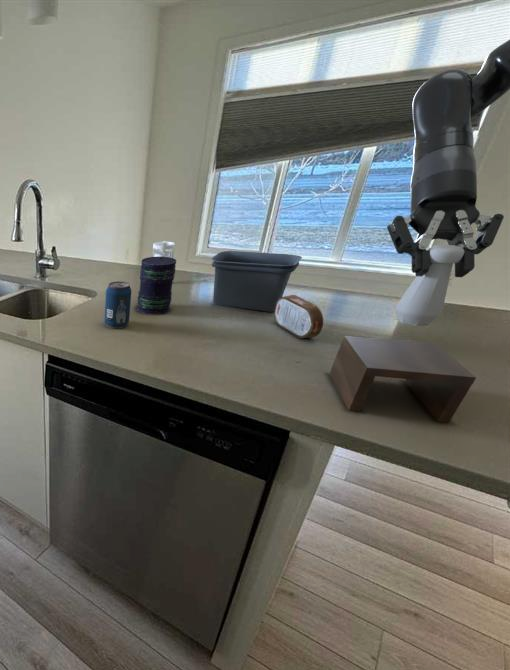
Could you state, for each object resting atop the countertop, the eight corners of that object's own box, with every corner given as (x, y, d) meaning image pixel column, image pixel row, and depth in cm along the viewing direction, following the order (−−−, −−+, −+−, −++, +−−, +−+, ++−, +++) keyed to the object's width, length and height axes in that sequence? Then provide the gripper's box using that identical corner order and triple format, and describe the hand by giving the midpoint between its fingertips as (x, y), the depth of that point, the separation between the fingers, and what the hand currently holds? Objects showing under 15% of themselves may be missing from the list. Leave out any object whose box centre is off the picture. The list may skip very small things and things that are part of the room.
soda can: (114, 318, 122) (117, 279, 116) (133, 324, 117) (137, 283, 111) (99, 325, 118) (100, 285, 112) (118, 331, 113) (121, 289, 107)
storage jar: (166, 316, 120) (172, 265, 112) (132, 312, 125) (137, 263, 117) (173, 305, 127) (179, 257, 119) (141, 302, 132) (145, 255, 124)
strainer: (149, 285, 146) (153, 242, 138) (149, 279, 152) (153, 238, 144) (170, 285, 144) (175, 242, 136) (169, 279, 149) (174, 237, 142)
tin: (318, 342, 98) (329, 309, 93) (305, 343, 98) (316, 311, 94) (280, 320, 111) (288, 290, 106) (268, 321, 111) (276, 291, 107)
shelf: (414, 382, 80) (435, 341, 75) (449, 422, 69) (476, 377, 65) (329, 374, 85) (343, 335, 81) (348, 410, 74) (367, 367, 70)
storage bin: (200, 305, 125) (208, 259, 117) (215, 291, 134) (224, 247, 127) (280, 317, 112) (295, 266, 105) (291, 301, 122) (305, 253, 115)
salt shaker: (429, 331, 68) (469, 252, 61) (386, 322, 72) (418, 247, 65) (439, 321, 70) (477, 244, 64) (396, 313, 74) (428, 240, 68)
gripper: (400, 170, 67) (398, 261, 64) (519, 163, 62) (524, 263, 59) (377, 200, 74) (374, 284, 71) (482, 196, 69) (484, 287, 66)
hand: (442, 274), depth 65 cm, fingers closed on salt shaker, 4 cm apart
